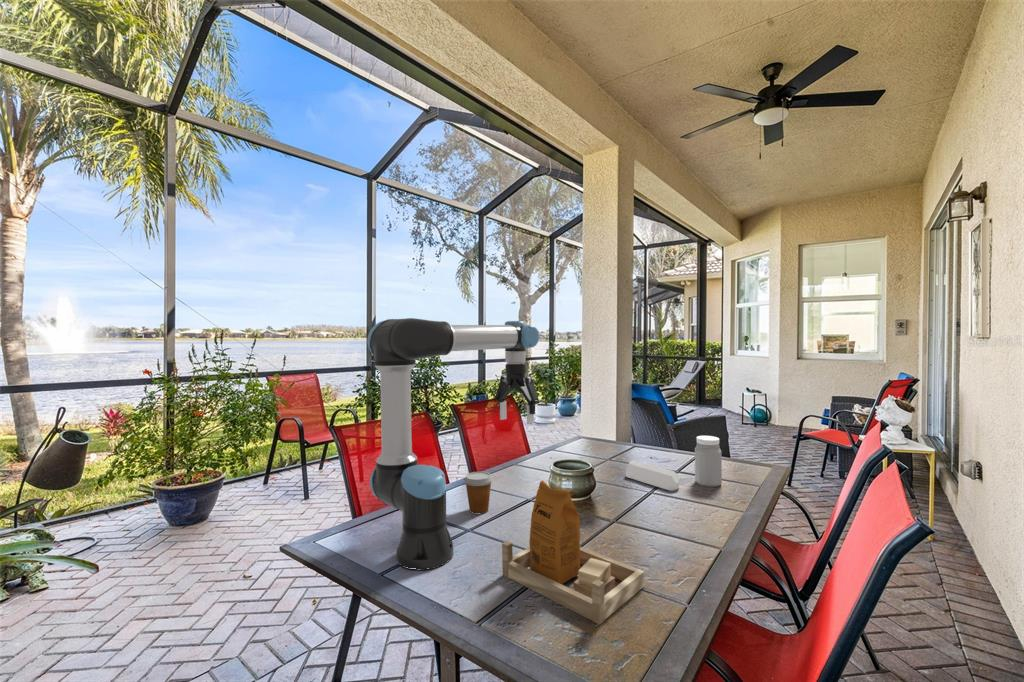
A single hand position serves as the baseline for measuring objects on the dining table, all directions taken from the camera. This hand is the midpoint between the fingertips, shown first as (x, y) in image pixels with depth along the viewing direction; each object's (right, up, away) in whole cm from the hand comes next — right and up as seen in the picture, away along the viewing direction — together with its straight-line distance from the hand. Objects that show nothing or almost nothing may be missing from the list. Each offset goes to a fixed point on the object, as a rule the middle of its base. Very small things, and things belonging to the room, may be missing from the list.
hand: (516, 421), depth 166 cm
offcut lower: (+18, -29, -61) cm, 70 cm away
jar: (+75, -27, +11) cm, 81 cm away
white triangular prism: (+54, -27, +14) cm, 62 cm away
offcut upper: (+18, -26, -61) cm, 68 cm away
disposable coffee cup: (-13, -29, -12) cm, 33 cm away
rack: (+13, -29, -56) cm, 64 cm away
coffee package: (+9, -29, -52) cm, 60 cm away
